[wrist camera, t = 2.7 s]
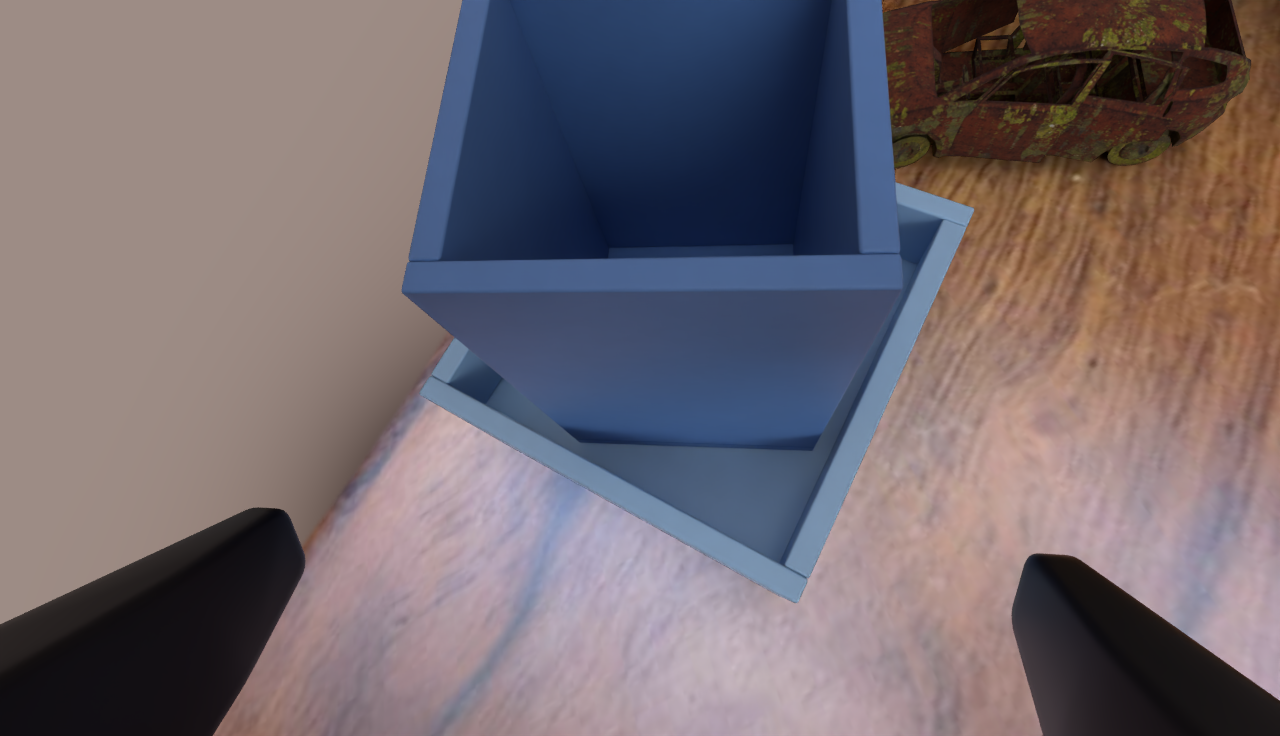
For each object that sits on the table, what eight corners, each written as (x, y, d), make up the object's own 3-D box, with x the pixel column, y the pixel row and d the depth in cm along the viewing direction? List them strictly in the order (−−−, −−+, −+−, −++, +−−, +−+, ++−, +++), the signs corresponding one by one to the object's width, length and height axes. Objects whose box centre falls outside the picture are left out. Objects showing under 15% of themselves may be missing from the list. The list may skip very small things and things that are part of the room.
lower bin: (780, 597, 19) (797, 604, 13) (500, 440, 22) (417, 393, 16) (913, 305, 21) (975, 207, 16) (643, 201, 24) (613, 88, 19)
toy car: (1162, 28, 23) (1265, -108, 19) (1194, 185, 21) (1320, 75, 16) (832, 42, 25) (853, -76, 21) (831, 186, 23) (854, 89, 19)
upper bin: (813, 451, 17) (904, 288, 7) (578, 442, 18) (399, 292, 8) (808, 238, 19) (874, -99, 9) (598, 242, 20) (472, -56, 11)
